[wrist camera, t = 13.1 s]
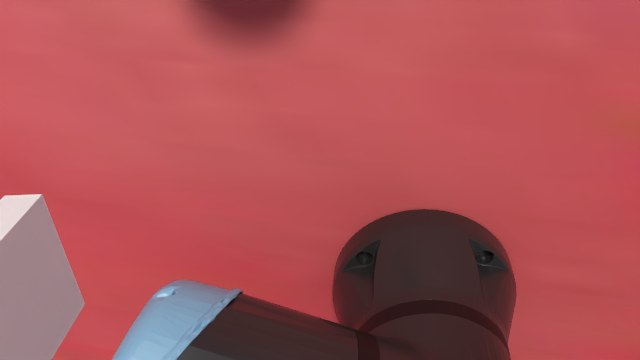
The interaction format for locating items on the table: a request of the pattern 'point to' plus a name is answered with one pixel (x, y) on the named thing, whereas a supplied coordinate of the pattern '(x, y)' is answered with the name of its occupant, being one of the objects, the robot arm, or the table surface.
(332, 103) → the table surface
